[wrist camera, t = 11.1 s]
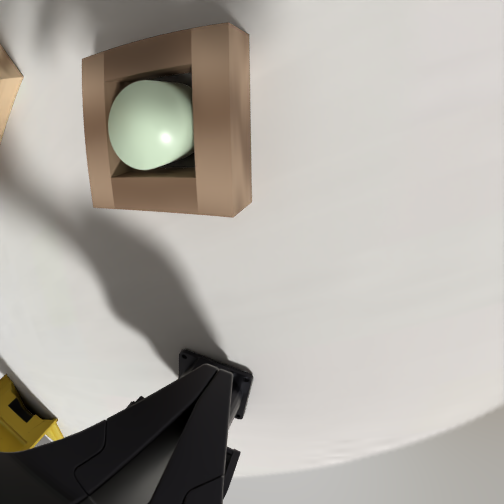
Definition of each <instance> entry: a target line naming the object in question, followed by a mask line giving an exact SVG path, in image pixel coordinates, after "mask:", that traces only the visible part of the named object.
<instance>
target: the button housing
mask: <svg viewBox="0 0 504 504" xmlns="http://www.w3.org/2000/svg"><path fill="white" fill-rule="evenodd" d="M184 73H192V102H193V130H194V152H195V168H190V167H172V168H153V169H149V170H139V169H135V168H133V167H130V166H129V165H127V164H126V163H124V162H123V161H122V160H121V159H120V158H119V157H118V155H117V154H116V152H115V151H114V149H113V147H112V144H111V142H110V138H109V132H108V119H109V113H110V110H111V107H112V104H113V102H114V100H115V99H116V97H117V96H118V94H119V93H120V92H121V91H122V90H123V89H124V88H125V87H127V86H128V85H130V84H132V83H134V82H137V81H142V80H148V79H154V78H159V77H165V76H171V75H178V74H184ZM82 97H83V117H84V132H85V144H86V154H87V163H88V172H89V180H90V187H91V194H92V201H93V208H109V209H126V210H142V211H157V212H171V213H184V214H197V215H210V216H222V217H234V216H236V215H237V214H238V213H239V212H240V211H242V210H243V209H244V208H245V207H246V206H248V205H249V204H250V203H251V202H252V185H251V124H250V64H249V34H247V33H245V32H244V31H242V30H240V29H239V28H237V27H235V26H234V25H232V24H230V23H229V22H228V23H221V24H214V25H208V26H202V27H196V28H191V29H186V30H181V31H176V32H171V33H167V34H163V35H159V36H154V37H150V38H147V39H143V40H139V41H136V42H132V43H129V44H125V45H122V46H119V47H115V48H112V49H109V50H106V51H103V52H100V53H97V54H94V55H92V56H89V57H86V58H83V59H82Z"/></svg>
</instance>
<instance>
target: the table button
mask: <svg viewBox="0 0 504 504" xmlns="http://www.w3.org/2000/svg"><path fill="white" fill-rule="evenodd" d="M108 132H109V138H110V142H111V144H112V147H113V149H114V151H115V152H116V154H117V155H118V157H119V158H120V159H121V160H122V161H123V162H124V163H126V164H127V165H129V166H130V167H133V168H135V169H139V170H149V169H153V168H156V167H159V166H162V165H165V164H168V163H171V162H175V161H178V160H181V159H184V158H186V157H188V156H189V155H191V154H192V153H193V152H194V130H193V102H192V88H191V87H189V86H187V85H185V84H182V83H177V82H165V81H150V80H142V81H137V82H134V83H132V84H130V85H128V86H127V87H125V88H124V89H123V90H122V91H121V92H120V93H119V94H118V96H117V97H116V99H115V100H114V102H113V104H112V107H111V110H110V113H109V119H108Z"/></svg>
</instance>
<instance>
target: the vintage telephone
mask: <svg viewBox="0 0 504 504" xmlns="http://www.w3.org/2000/svg"><path fill="white" fill-rule="evenodd" d="M57 421H58V419H55V418H54V419H53V420H42V419H41V418H39V417H38V416H37V415H36V414H35V415H33V414H32V413H31V412H29V411H28V410H27V409H26V407H25V406H24V404H23V402H22V400H21V398H20V396H19V394H18V392H17V390H16V388H15V386H14V384H13V382H12V381H11V380H10V379H9V377H8V376H7V374H6V375H4V376H3V377H2V378H1V379H0V452H18V451H24V450H28V449H31V448H33V447H34V446H35V445H36V444H37V443H38V442H39V441H40V439H41V438H42V437H43V436H44V435H45V434H46V435H47V436H48V437H50V438H51V439H52V440H53V441H56V440H59V439H62V438H64V437H63V435H62V433H61V431H60V429H59V427H58V425H57V423H56V422H57Z"/></svg>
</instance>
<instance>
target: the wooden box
mask: <svg viewBox="0 0 504 504" xmlns="http://www.w3.org/2000/svg"><path fill="white" fill-rule="evenodd" d="M22 79H23V76H22V74H21V73H20V72H19V70H18V69H17V67H16V66H15V65H14V63H13V62H12V60H11V59H10V57H9V56H8V55H7V53H6V52H5V50H4V49H3V47H2V46H1V44H0V143H1V140H2V136H3V133H4V130H5V126H6V123H7V120H8V117H9V114H10V111H11V108H12V105H13V102H14V100H15V97H16V94H17V92H18V89H19V87H20V84H21V82H22Z"/></svg>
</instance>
